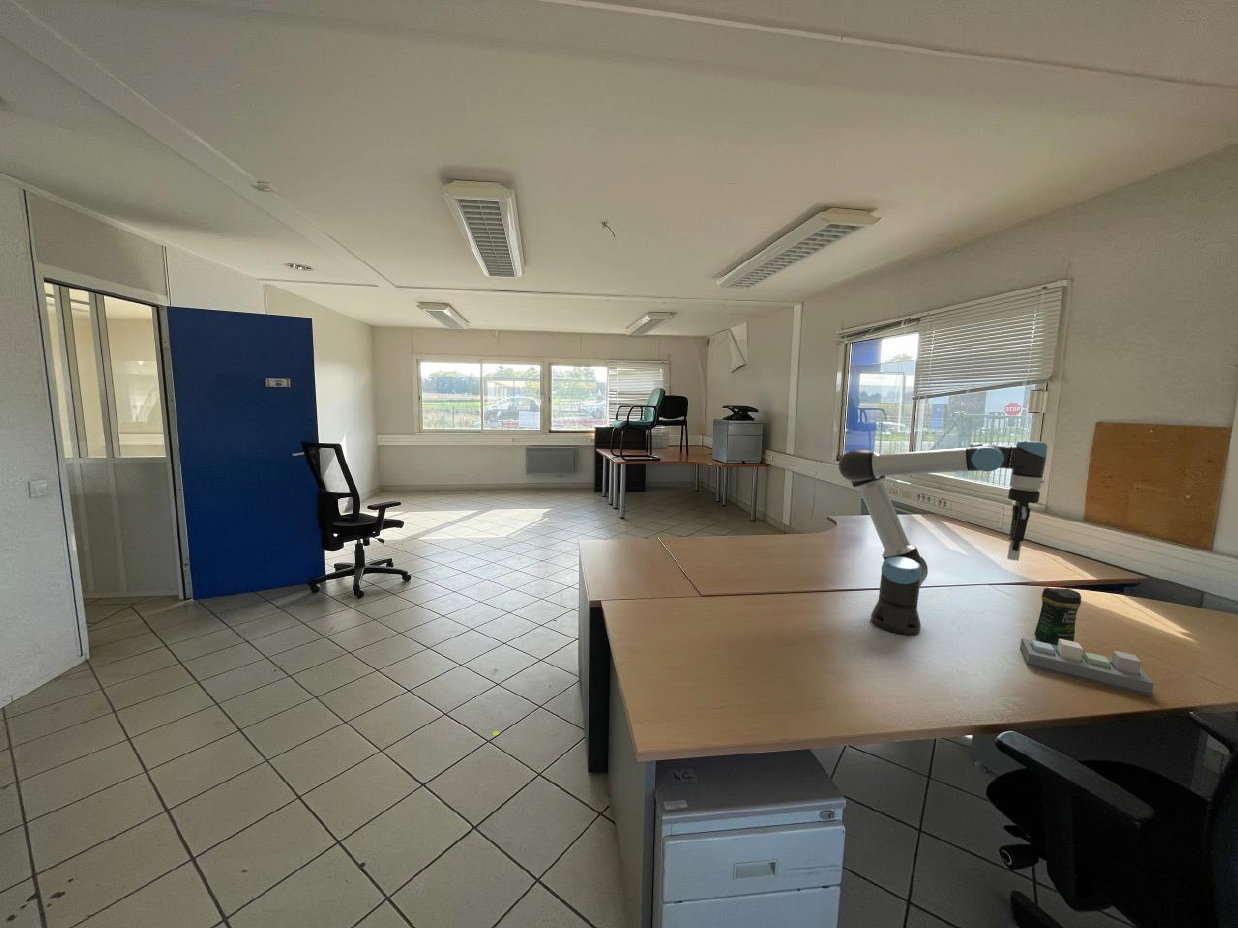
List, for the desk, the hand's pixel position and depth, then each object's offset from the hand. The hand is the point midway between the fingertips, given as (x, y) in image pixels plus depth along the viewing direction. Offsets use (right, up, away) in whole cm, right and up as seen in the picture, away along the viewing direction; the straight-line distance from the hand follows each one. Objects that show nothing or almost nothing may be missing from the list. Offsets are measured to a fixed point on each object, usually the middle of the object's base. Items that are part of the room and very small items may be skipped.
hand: (1012, 559), depth 153 cm
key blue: (+1, -28, -9) cm, 30 cm away
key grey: (+16, -28, -19) cm, 37 cm away
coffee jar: (+17, -29, +4) cm, 34 cm away
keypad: (+9, -31, -14) cm, 35 cm away
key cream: (+6, -27, -13) cm, 30 cm away
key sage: (+11, -30, -15) cm, 35 cm away
